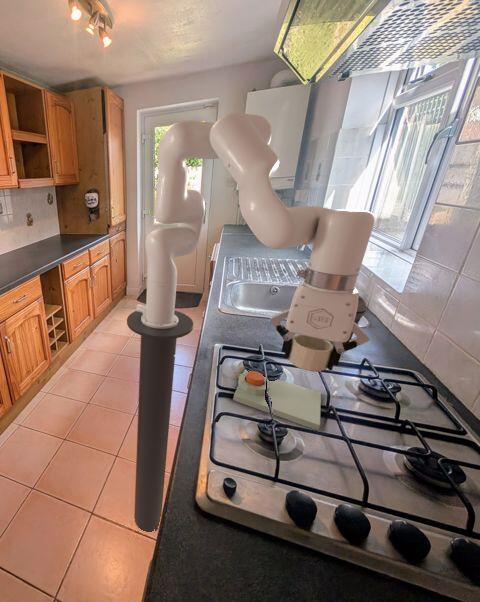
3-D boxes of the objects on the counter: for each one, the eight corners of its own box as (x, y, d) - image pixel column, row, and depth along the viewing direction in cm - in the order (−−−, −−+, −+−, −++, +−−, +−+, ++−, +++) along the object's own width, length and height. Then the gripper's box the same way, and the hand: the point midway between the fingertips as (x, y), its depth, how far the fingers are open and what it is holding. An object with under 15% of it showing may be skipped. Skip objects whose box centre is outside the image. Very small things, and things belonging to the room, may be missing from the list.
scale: (231, 399, 69) (233, 389, 67) (243, 373, 78) (244, 363, 76) (318, 430, 60) (322, 419, 59) (319, 397, 69) (322, 386, 68)
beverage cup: (359, 349, 87) (382, 284, 79) (331, 348, 88) (351, 283, 80) (344, 337, 93) (364, 276, 86) (318, 336, 94) (336, 275, 87)
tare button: (244, 383, 70) (245, 376, 69) (247, 375, 73) (248, 369, 72) (261, 388, 68) (262, 382, 67) (264, 380, 71) (265, 374, 70)
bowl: (285, 366, 62) (291, 345, 60) (289, 351, 67) (294, 331, 65) (326, 377, 58) (333, 355, 56) (326, 360, 63) (333, 339, 61)
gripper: (273, 277, 58) (257, 356, 64) (396, 293, 48) (363, 385, 55) (278, 268, 63) (263, 342, 70) (389, 281, 54) (359, 365, 60)
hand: (307, 360), depth 62 cm, fingers closed on bowl, 6 cm apart
